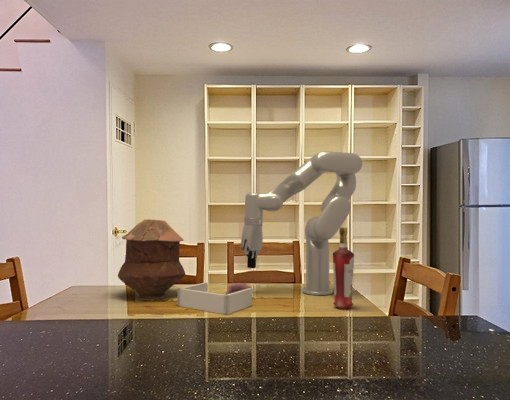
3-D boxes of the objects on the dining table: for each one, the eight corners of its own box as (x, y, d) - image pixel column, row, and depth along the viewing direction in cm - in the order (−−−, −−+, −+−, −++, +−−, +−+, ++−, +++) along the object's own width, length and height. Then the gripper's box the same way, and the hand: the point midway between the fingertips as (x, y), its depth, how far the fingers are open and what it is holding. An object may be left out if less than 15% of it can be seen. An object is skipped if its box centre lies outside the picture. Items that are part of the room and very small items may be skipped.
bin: (204, 298, 150) (205, 282, 150) (251, 305, 138) (252, 288, 139) (177, 305, 137) (177, 288, 137) (226, 314, 126) (227, 295, 126)
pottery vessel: (102, 298, 148) (104, 219, 149) (145, 286, 172) (146, 218, 173) (159, 304, 138) (160, 220, 139) (196, 291, 162) (197, 219, 163)
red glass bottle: (337, 304, 141) (337, 227, 142) (357, 307, 137) (357, 227, 138) (329, 308, 135) (329, 227, 137) (349, 311, 131) (349, 228, 132)
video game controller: (251, 303, 149) (254, 285, 152) (247, 300, 145) (250, 281, 148) (227, 301, 152) (230, 283, 155) (223, 298, 148) (226, 280, 152)
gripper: (255, 222, 169) (253, 265, 168) (235, 222, 156) (233, 268, 155) (270, 223, 165) (268, 267, 164) (251, 223, 152) (249, 270, 151)
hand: (251, 267), depth 160 cm, fingers closed
